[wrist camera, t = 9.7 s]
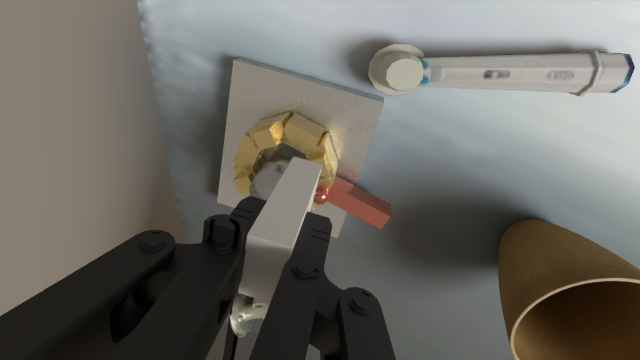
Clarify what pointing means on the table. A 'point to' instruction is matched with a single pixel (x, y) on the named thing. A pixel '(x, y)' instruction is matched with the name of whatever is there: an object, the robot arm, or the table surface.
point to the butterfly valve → (242, 320)
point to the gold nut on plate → (291, 96)
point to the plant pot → (566, 296)
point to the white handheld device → (500, 71)
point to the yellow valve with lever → (317, 150)
